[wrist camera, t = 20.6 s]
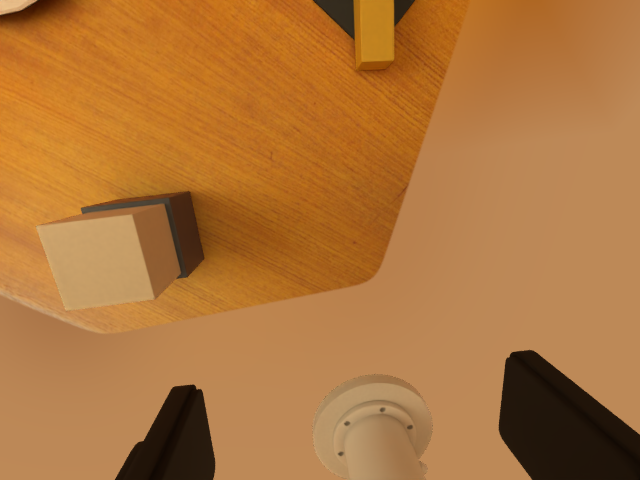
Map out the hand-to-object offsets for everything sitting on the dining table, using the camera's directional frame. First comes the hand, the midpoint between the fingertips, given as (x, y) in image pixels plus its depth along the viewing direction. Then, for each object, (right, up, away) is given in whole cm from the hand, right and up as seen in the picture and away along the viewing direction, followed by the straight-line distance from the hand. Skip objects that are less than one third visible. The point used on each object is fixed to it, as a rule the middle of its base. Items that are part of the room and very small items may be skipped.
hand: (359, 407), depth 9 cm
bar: (+4, +30, +21) cm, 37 cm away
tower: (-19, +6, +26) cm, 33 cm away
